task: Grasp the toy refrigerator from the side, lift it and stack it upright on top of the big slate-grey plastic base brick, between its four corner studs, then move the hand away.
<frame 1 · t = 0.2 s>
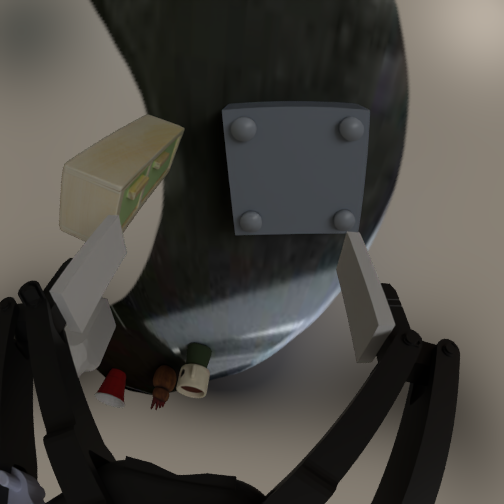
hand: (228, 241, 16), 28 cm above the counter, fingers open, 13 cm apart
character mug: (200, 347, 70), on the counter
base brick: (295, 160, 41), on the counter
toy refrigerator: (160, 144, 40), on the counter
wooden figurine: (167, 367, 79), on the counter
plastic cup: (119, 372, 85), on the counter
white spray bottle: (104, 310, 65), on the counter
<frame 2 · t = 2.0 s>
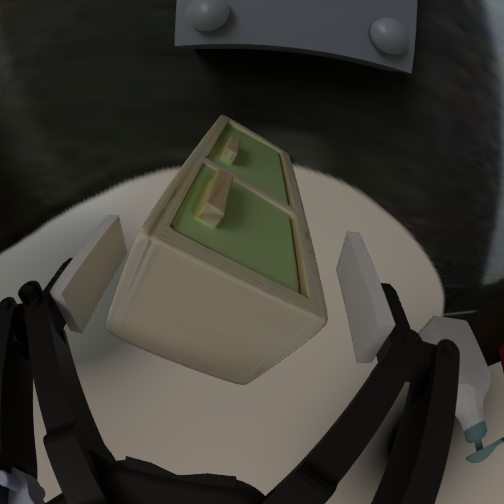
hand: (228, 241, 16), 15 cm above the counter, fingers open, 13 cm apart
toy refrigerator: (242, 155, 28), on the counter
white spray bottle: (443, 325, 43), on the counter
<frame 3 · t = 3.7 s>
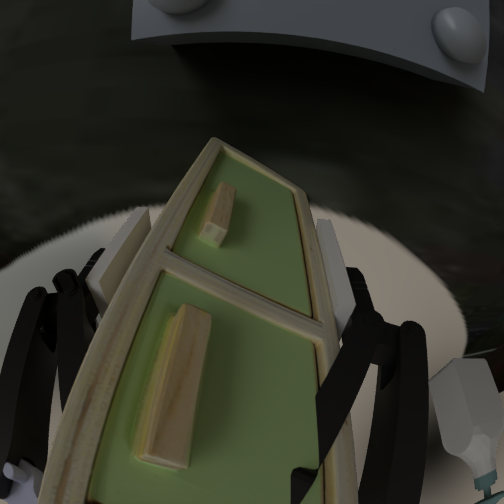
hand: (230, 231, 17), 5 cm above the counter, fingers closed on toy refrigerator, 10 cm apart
toy refrigerator: (242, 192, 21), on the counter, touching gripper
white spray bottle: (461, 365, 36), on the counter
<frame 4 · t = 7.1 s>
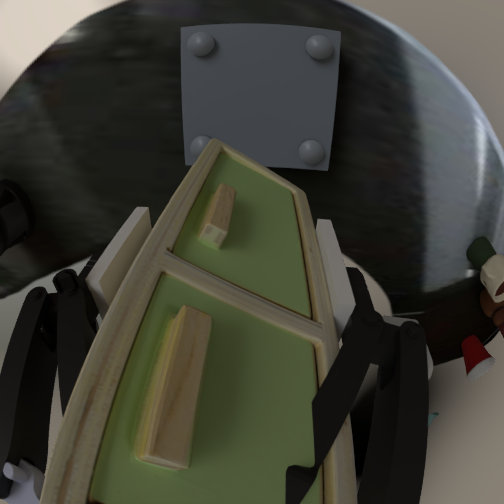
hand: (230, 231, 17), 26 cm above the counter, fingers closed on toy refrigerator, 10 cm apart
character mug: (476, 246, 47), on the counter
base brick: (259, 91, 34), on the counter
toy refrigerator: (242, 193, 21), point 21 cm above the counter, touching gripper
wooden figurine: (485, 290, 54), on the counter
plastic cup: (468, 339, 66), on the counter
white spray bottle: (395, 323, 61), on the counter
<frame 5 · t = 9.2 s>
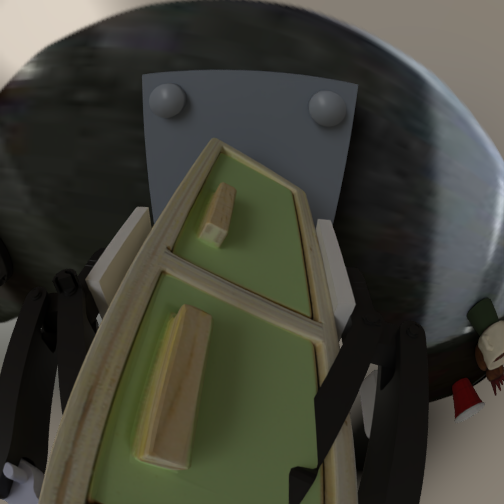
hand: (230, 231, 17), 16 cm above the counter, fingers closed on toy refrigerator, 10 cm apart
character mug: (477, 306, 43), on the counter
base brick: (247, 151, 30), on the counter
toy refrigerator: (242, 193, 21), point 11 cm above the counter, touching gripper
wooden figurine: (482, 341, 50), on the counter
plastic cup: (460, 381, 63), on the counter
white spray bottle: (385, 375, 57), on the counter
when the fingers open (13 cm above the counter, at t = 10.8 s): toy refrigerator drops 2 cm, resting on base brick.
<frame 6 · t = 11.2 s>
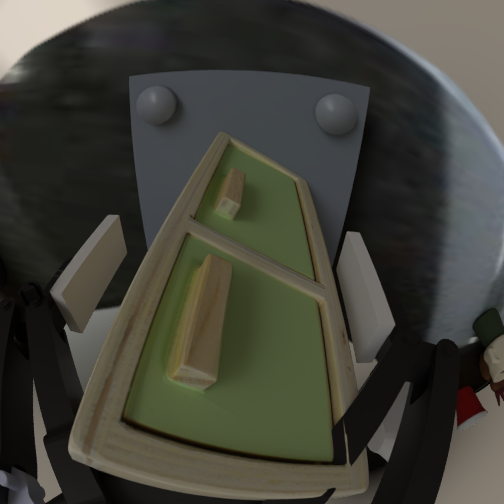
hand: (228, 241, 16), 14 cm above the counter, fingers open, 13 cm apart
character mug: (483, 317, 41), on the counter
base brick: (246, 159, 27), on the counter
toy refrigerator: (248, 182, 23), point 6 cm above the counter, touching base brick
wooden figurine: (486, 350, 48), on the counter
plastic cup: (463, 389, 61), on the counter
white spray bottle: (388, 385, 55), on the counter
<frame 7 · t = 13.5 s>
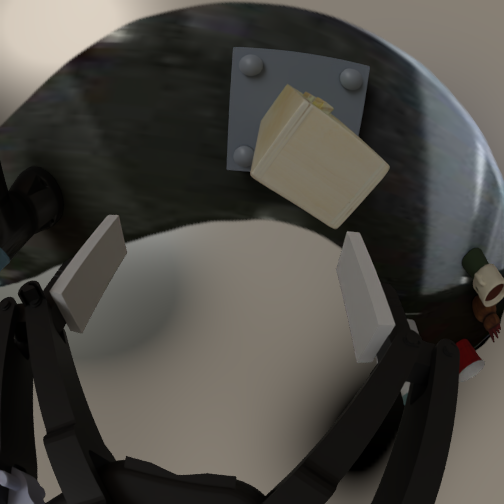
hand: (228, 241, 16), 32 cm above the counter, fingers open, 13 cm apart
character mug: (470, 256, 53), on the counter
base brick: (293, 109, 40), on the counter
toy refrigerator: (300, 115, 35), point 6 cm above the counter, touching base brick
wooden figurine: (478, 297, 60), on the counter
plastic cup: (460, 343, 73), on the counter
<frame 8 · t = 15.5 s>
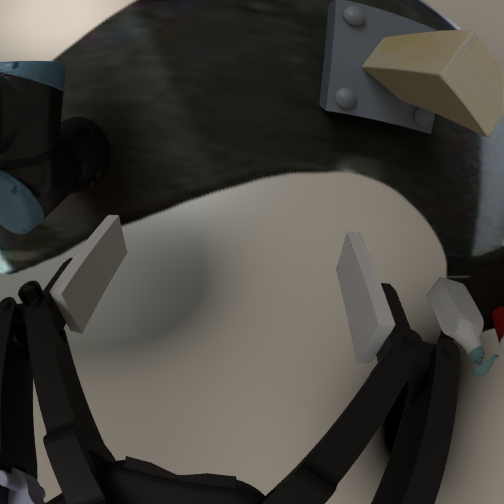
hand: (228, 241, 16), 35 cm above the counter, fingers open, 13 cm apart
base brick: (377, 65, 36), on the counter
toy refrigerator: (393, 67, 31), point 6 cm above the counter, touching base brick
plastic cup: (497, 310, 69), on the counter
white spray bottle: (447, 286, 63), on the counter
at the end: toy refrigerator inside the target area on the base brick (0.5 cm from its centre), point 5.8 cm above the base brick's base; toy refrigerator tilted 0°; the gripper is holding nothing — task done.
